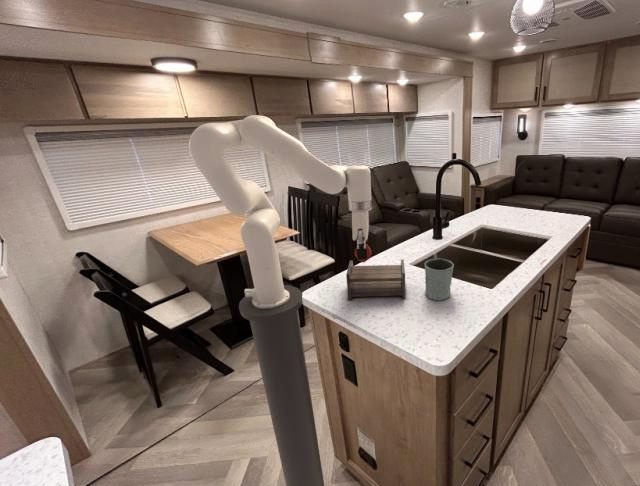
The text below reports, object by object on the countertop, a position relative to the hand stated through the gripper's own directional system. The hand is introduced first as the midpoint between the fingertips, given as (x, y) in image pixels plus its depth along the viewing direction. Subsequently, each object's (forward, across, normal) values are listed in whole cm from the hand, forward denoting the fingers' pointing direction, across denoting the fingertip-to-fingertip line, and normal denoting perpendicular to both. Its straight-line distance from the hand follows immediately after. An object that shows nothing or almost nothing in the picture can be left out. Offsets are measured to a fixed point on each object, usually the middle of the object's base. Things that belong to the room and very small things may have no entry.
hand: (363, 254), depth 112 cm
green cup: (+15, +3, +26) cm, 30 cm away
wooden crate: (+15, 0, +4) cm, 15 cm away
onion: (+3, 0, 0) cm, 3 cm away
